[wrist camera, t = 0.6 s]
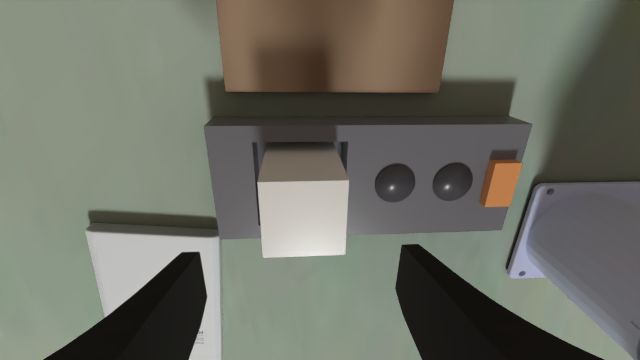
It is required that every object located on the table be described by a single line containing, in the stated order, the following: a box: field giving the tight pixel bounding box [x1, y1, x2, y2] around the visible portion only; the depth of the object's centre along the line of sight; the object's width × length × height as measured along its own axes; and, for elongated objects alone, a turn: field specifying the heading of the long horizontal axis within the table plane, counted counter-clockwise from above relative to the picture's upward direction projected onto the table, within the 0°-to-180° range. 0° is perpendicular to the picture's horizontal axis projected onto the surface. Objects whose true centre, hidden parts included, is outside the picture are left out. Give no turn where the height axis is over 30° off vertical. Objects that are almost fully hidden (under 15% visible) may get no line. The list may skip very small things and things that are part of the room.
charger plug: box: [257, 142, 349, 258], centre depth 17 cm, size 4×4×6 cm
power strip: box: [204, 116, 532, 239], centre depth 19 cm, size 18×7×3 cm, turn 89°
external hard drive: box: [85, 223, 223, 360], centre depth 23 cm, size 2×8×12 cm
